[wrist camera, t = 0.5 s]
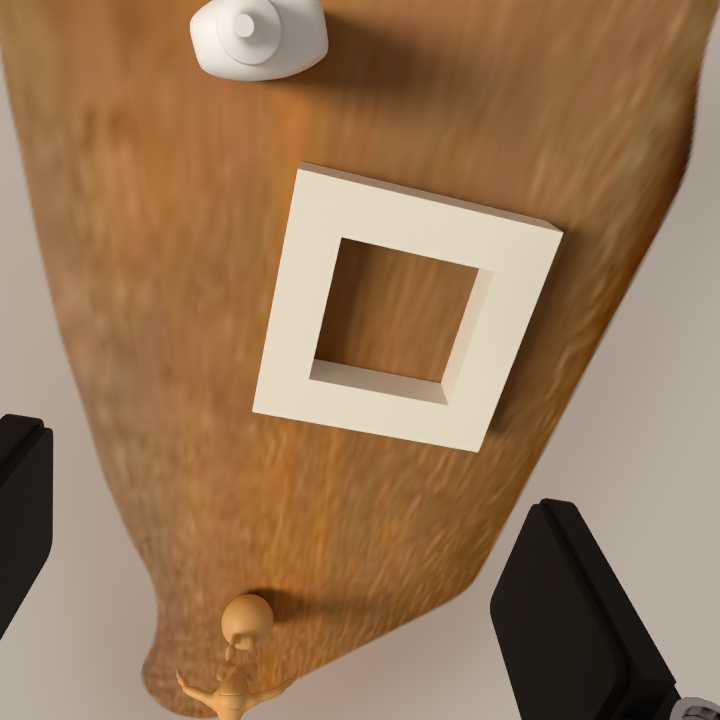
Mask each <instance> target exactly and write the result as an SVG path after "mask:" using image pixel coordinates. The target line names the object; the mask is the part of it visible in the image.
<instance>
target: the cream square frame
mask: <svg viewBox="0 0 720 720" xmlns="http://www.w3.org/2000/svg"><path fill="white" fill-rule="evenodd" d="M562 235H563V232H562V231H560V230H559V229H557V228H556V227H555V226H553V225H552V224H550V223H549V222H547V221H545V220H541V219H537V218H533V217H529V216H525V215H521V214H517V213H513V212H508V211H504V210H500V209H496V208H492V207H488V206H484V205H480V204H475V203H471V202H467V201H463V200H459V199H455V198H451V197H447V196H442V195H438V194H434V193H430V192H426V191H422V190H418V189H414V188H410V187H405V186H401V185H397V184H393V183H389V182H385V181H381V180H377V179H372V178H368V177H364V176H360V175H356V174H352V173H348V172H344V171H339V170H335V169H331V168H327V167H323V166H319V165H315V164H311V163H306V162H302V161H300V164H299V167H298V171H297V176H296V182H295V187H294V192H293V198H292V203H291V208H290V214H289V219H288V224H287V230H286V235H285V240H284V245H283V251H282V256H281V261H280V267H279V272H278V277H277V283H276V288H275V293H274V298H273V304H272V309H271V314H270V320H269V325H268V330H267V336H266V341H265V346H264V351H263V357H262V362H261V367H260V373H259V378H258V383H257V389H256V394H255V399H254V405H253V410H252V412H256V413H261V414H267V415H273V416H278V417H284V418H289V419H295V420H300V421H306V422H312V423H317V424H323V425H328V426H334V427H340V428H345V429H351V430H356V431H362V432H367V433H373V434H379V435H384V436H390V437H395V438H401V439H406V440H412V441H418V442H423V443H429V444H434V445H440V446H446V447H451V448H457V449H462V450H468V451H473V452H479V449H480V447H481V444H482V442H483V439H484V436H485V434H486V431H487V429H488V426H489V424H490V421H491V418H492V416H493V413H494V411H495V408H496V405H497V403H498V400H499V398H500V395H501V393H502V390H503V387H504V385H505V382H506V380H507V377H508V375H509V372H510V369H511V367H512V364H513V362H514V359H515V357H516V354H517V351H518V349H519V346H520V344H521V341H522V338H523V336H524V333H525V331H526V328H527V326H528V323H529V320H530V318H531V315H532V313H533V310H534V308H535V305H536V302H537V300H538V297H539V295H540V292H541V290H542V287H543V284H544V282H545V279H546V277H547V274H548V271H549V269H550V266H551V264H552V261H553V259H554V256H555V253H556V251H557V248H558V246H559V243H560V241H561V238H562ZM341 237H343V238H348V239H352V240H357V241H361V242H365V243H370V244H374V245H379V246H383V247H387V248H392V249H396V250H401V251H405V252H410V253H414V254H418V255H423V256H427V257H432V258H436V259H440V260H445V261H449V262H454V263H458V264H463V265H467V266H471V267H476V268H479V271H478V274H477V277H476V280H475V283H474V286H473V289H472V292H471V295H470V298H469V301H468V303H467V306H466V309H465V312H464V315H463V318H462V321H461V324H460V327H459V330H458V333H457V336H456V339H455V342H454V345H453V348H452V351H451V354H450V357H449V360H448V363H447V366H446V369H445V372H444V375H443V378H442V381H441V383H436V382H431V381H426V380H420V379H415V378H410V377H405V376H400V375H395V374H390V373H385V372H379V371H374V370H369V369H364V368H359V367H354V366H349V365H344V364H338V363H333V362H328V361H323V360H318V359H314V355H315V350H316V346H317V341H318V337H319V333H320V328H321V324H322V320H323V315H324V311H325V307H326V302H327V298H328V293H329V289H330V285H331V280H332V276H333V272H334V267H335V263H336V259H337V254H338V250H339V245H340V241H341Z"/></svg>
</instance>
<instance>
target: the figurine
mask: <svg viewBox="0 0 720 720" xmlns="http://www.w3.org/2000/svg"><path fill="white" fill-rule="evenodd" d="M272 627H273V613H272V610H271V607H270V606H269V604H268V603H267V602H266V601H265V600H264V599H263V598H261V597H260V596H257V595H253V594H246V595H242V596H239V597H237V598H235V599H234V600H233V601H232V602H230V604H229V605H228V606H227V607H226V609H225V611H224V614H223V617H222V631H223V634H224V636H225V638H226V640H227V641H228V642H229V643H230V645H229V646H228V647H227V649H226V652H225V656H226V662H224V663H223V664H222V665H221V666H220V667H219V669H218V672H217V679H218V680H219V681H223V680H224V681H223V682H222V684H221V685H220V687H219V688H218V689H217V690H216V691H215V692H213V693H210V692H206V691H204V690H201V689H199V688H196V687H192V686H190V685H189V683H188V682H187V680H186V678H185V677H183V676H182V674H183V672H182V673H180V670H181V669H179V666H178V668H177V678H178V681H179V683H180V685H181V686H182V688H183V691H184V692H185V693H186V694H187V695H189V696H191V697H193V698H195V699H197V700H200V701H202V702H203V703H205V704H206V705H207V706H209V707H211V708H212V709H214V710H215V711H216V712H217V714H218V716H219V718H220V720H240V718H241V717H242V715H243V714H244V712H246V711H247V710H249V709H250V708H252V707H254V706H256V705H258V704H259V703H261V702H264V701H267V700H270V699H272V698H275V697H277V696H278V695H280V694H282V693H283V692H284V690H285V689H286V688H288V687H289V686H291V685H292V684H293V682H294V681H295V680H296V678H297V676H298V672H299V669H298V670H297V671H296V674H293V677H292V678H289V679H287V680H286V681H284V682H283V683H282V684H281V685H280V686H279V687H277V688H272V689H268V690H265V691H262V692H259V693H250V691H249V688H248V683H247V680H246V679H249V681H251V682H253V681H255V680H256V678H257V671H258V665H257V664H256V663H255V662H256V658H257V655H258V650H257V648H256V647H258V646H260V645H261V644H262V643H263V642H264V641H265V640H266V639H267V638H268V636H269V635H270V633H271V630H272ZM235 647H236V648H238V649H242V650H248V657H249V659H250V663H246V664H244V666H243V667H242V666H240V665H235V664H234V663H231V662H232V659H233V657H234V655H235Z"/></svg>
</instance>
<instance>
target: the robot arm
mask: <svg viewBox="0 0 720 720" xmlns="http://www.w3.org/2000/svg"><path fill="white" fill-rule="evenodd" d="M52 530H53V431H52V429H50V428H45V427H44V423H43V421H42V420H41V419H39V418H32V417H26V416H19V415H14V414H6V415H5V416H3V417H2V418H1V419H0V640H1V638H2V636H3V635H4V633H5V631H6V629H7V628H8V626H9V624H10V622H11V621H12V619H13V617H14V615H15V614H16V612H17V610H18V608H19V607H20V605H21V603H22V602H23V600H24V598H25V596H26V595H27V593H28V591H29V590H30V588H31V586H32V584H33V583H34V581H35V579H36V578H37V576H38V574H39V572H40V571H41V569H42V567H43V565H44V564H45V562H46V560H47V558H48V556H49V553H50V550H51V546H52V537H53V531H52ZM490 614H491V618H492V622H493V625H494V629H495V632H496V635H497V639H498V642H499V645H500V648H501V652H502V655H503V659H504V662H505V665H506V669H507V672H508V675H509V679H510V682H511V685H512V689H513V692H514V696H515V699H516V702H517V705H518V709H519V712H520V716H521V719H522V720H720V706H718V705H716V704H714V703H713V702H711V701H707V700H704V699H701V698H698V697H685V698H683V699H681V697H680V695H679V693H678V692H677V690H676V688H675V686H674V685H675V683H676V680H675V679H674V677H673V675H672V674H671V672H670V670H669V668H668V666H667V665H666V663H665V661H664V659H663V658H662V656H661V654H660V652H659V651H658V649H657V647H656V646H655V644H654V642H653V640H652V638H651V637H650V635H649V633H648V631H647V630H646V628H645V626H644V624H643V623H642V621H641V619H640V617H639V616H638V614H637V612H636V611H635V609H634V607H633V606H632V603H631V602H630V600H629V598H628V596H627V595H626V593H625V591H624V590H623V588H622V586H621V584H620V583H619V581H618V579H617V577H616V575H615V574H614V572H613V570H612V568H611V567H610V565H609V563H608V561H607V560H606V558H605V556H604V555H603V553H602V551H601V549H600V548H599V546H598V544H597V542H596V540H595V539H594V537H593V535H592V533H591V532H590V530H589V528H588V526H587V525H586V523H585V521H584V520H583V518H582V516H581V514H580V512H579V511H578V509H577V507H576V506H575V505H574V504H573V503H571V502H566V501H561V500H554V499H548V498H545V499H542V500H541V501H540V503H539V504H534V505H533V506H532V507H531V508H530V510H529V513H528V515H527V517H526V519H525V522H524V524H523V526H522V529H521V531H520V534H519V535H518V538H517V540H516V543H515V545H514V547H513V549H512V552H511V554H510V556H509V558H508V561H507V563H506V566H505V568H504V570H503V572H502V575H501V577H500V579H499V582H498V584H497V586H496V588H495V591H494V593H493V595H492V598H491V603H490Z"/></svg>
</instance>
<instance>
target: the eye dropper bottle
mask: <svg viewBox="0 0 720 720" xmlns="http://www.w3.org/2000/svg"><path fill="white" fill-rule="evenodd" d="M190 32H191V37H192V41H193V45H194V49H195V53H196V56H197V60H198V62H199V64H200V66H201V68H202V69H203V70H204V71H206V72H207V73H209V74H211V75H214V76H217V77H221V78H225V79H230V80H238V81H261V80H271V79H278V78H284V77H288V76H291V75H294V74H297V73H299V72H302V71H304V70H306V69H308V68H310V67H311V66H313V65H315V64H316V63H318V62H319V61H320V60H321V59H323V58H324V57H325V55H326V54H327V52H328V36H327V29H326V23H325V17H324V12H323V7H322V4H321V2H320V0H212V1H210V2H209V3H208V4H206V5H205V6H204V7H202V8H201V9H200V10H199V11H198V12H197V13H196V14H195V15H194V16H193V18H192V20H191V22H190Z"/></svg>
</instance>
